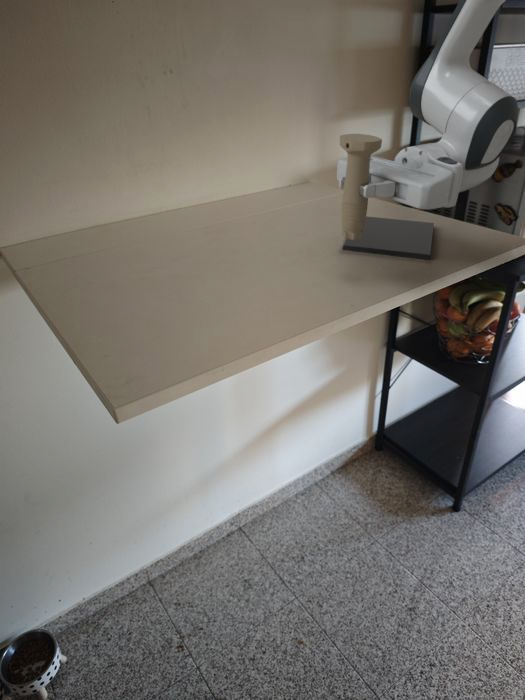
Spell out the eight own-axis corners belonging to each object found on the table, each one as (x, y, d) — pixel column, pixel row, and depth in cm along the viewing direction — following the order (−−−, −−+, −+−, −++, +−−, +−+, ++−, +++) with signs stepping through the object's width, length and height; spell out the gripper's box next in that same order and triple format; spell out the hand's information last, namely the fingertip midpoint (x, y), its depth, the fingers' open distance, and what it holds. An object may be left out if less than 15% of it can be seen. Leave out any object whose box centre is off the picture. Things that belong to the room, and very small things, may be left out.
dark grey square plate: (433, 227, 106) (433, 222, 105) (429, 259, 91) (430, 254, 91) (357, 219, 110) (358, 215, 109) (342, 249, 95) (343, 245, 95)
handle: (350, 228, 83) (358, 132, 75) (376, 240, 79) (388, 139, 71) (327, 234, 81) (333, 136, 73) (353, 246, 77) (363, 143, 69)
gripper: (375, 143, 87) (311, 153, 81) (472, 166, 72) (403, 181, 66) (371, 180, 90) (310, 192, 84) (463, 209, 76) (397, 226, 70)
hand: (352, 187), depth 75 cm, fingers closed on handle, 3 cm apart
